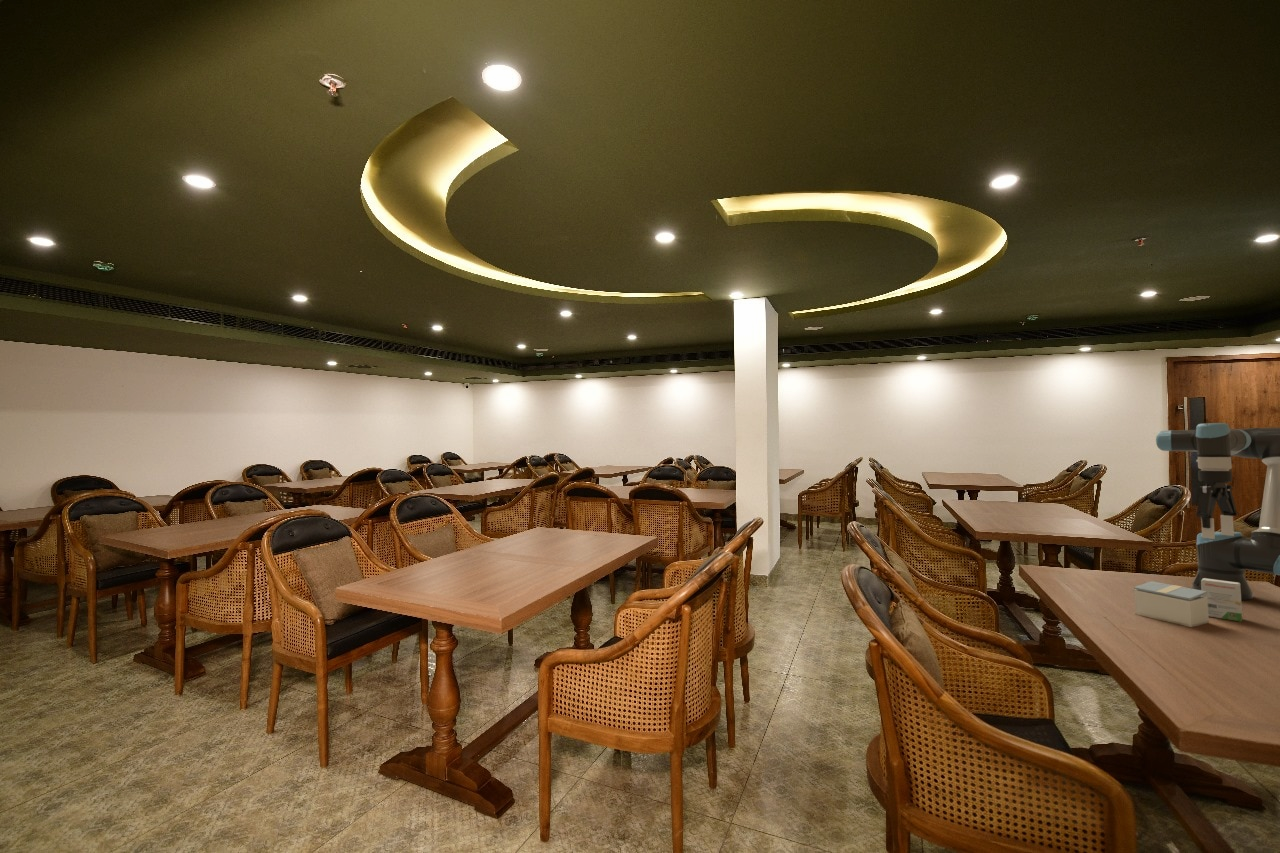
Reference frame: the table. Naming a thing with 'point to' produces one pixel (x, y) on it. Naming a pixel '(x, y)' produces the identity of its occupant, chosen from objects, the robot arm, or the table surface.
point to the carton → (1172, 608)
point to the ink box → (1223, 599)
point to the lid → (1170, 590)
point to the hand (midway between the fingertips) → (1218, 536)
